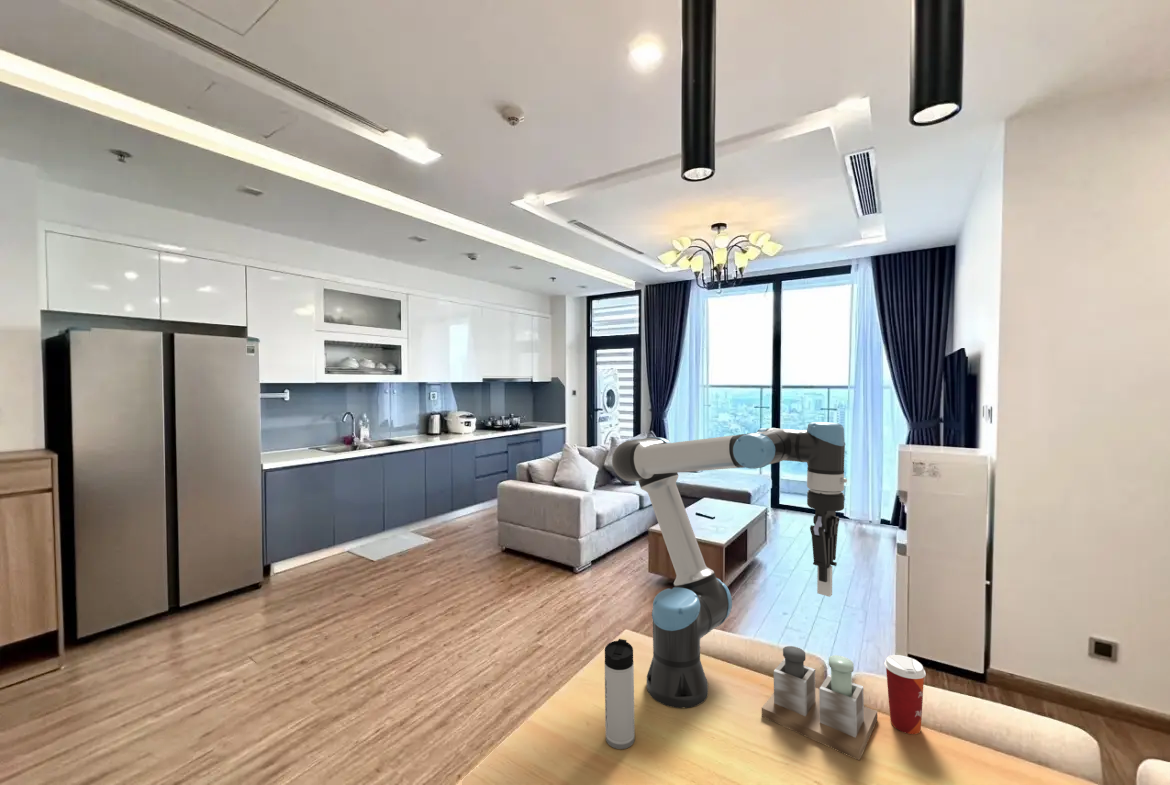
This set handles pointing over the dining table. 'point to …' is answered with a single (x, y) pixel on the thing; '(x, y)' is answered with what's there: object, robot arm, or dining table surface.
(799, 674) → the gray plug
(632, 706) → the travel mug
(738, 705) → the dining table surface
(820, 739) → the socket board
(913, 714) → the paper cup
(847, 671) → the sage plug
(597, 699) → the dining table surface
